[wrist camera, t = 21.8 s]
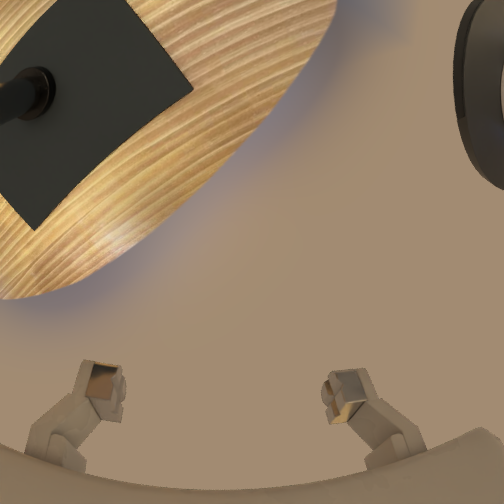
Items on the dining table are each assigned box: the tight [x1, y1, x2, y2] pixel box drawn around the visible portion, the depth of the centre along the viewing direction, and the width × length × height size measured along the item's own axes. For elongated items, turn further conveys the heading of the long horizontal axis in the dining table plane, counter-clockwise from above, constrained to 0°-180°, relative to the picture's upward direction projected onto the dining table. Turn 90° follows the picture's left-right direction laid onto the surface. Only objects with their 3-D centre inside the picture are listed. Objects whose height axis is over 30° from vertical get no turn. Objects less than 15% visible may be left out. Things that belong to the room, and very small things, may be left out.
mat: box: [0, 0, 193, 231], centre depth 17 cm, size 20×14×1 cm
